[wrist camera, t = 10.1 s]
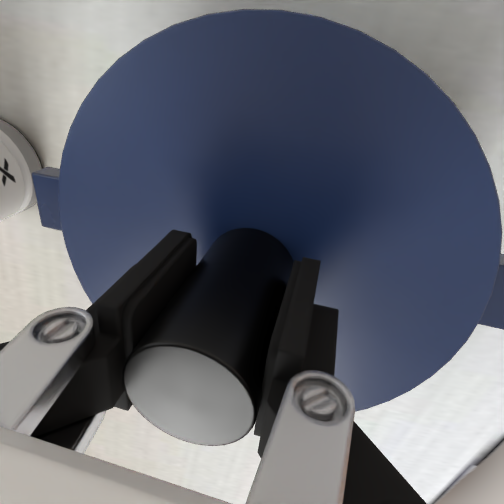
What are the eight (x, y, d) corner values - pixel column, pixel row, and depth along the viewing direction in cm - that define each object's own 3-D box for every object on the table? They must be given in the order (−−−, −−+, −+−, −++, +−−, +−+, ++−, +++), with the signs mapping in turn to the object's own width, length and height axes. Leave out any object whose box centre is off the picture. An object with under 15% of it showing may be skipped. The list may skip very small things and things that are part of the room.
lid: (48, -11, 11) (-289, -82, 5) (595, 45, 9) (1081, 29, 3) (100, 348, 18) (-18, 483, 12) (404, 432, 16) (431, 647, 10)
